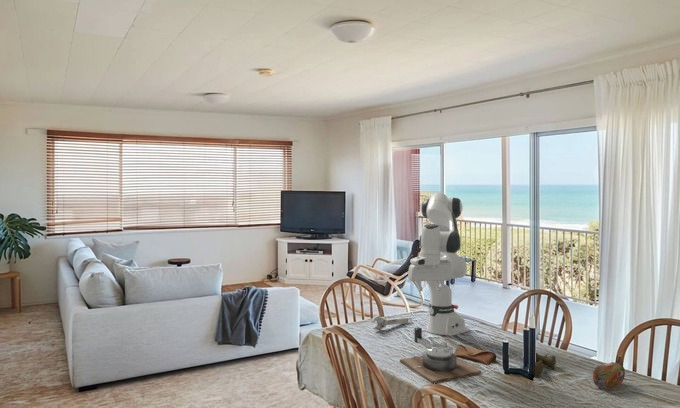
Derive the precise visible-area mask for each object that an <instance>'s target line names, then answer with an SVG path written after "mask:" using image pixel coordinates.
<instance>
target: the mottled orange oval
mask: <svg viewBox="0 0 680 408" xmlns="http://www.w3.org/2000/svg"><path fill="white" fill-rule="evenodd" d="M625 376H626V370H625V368H624V366H623V365H622V364H621V363H618V362H615V361H614V362H611V361H610V362H608V363H604V364H599V365H597V366H596V367H595V368H594V370H593V372H592V380H593V383H594V385H595V386H596V387H599V388H601V389H602V390H603V389H604V390H607V389H609V388H613V387H617V386H620V385H621V384H622V383H623V381H624V380H625Z"/></svg>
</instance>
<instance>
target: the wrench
mask: <svg viewBox="0 0 680 408" xmlns="http://www.w3.org/2000/svg"><path fill="white" fill-rule="evenodd" d="M370 321H371V322H372V323H375V322H376V325H373V326H372V329H373V330H376V331H379V332H381V331H382V330H383V329H384V328H385V327H386V326H391V325H402V324H404V325H405V324H410V323H409V322H411V323H412V317H409V316H405V317H398V318H397V317H396V318H389V319H388V318H387V319H385V318H382V317H381V316H380V315H374V316H373V317H372V318H371V320H370Z"/></svg>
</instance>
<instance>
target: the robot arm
mask: <svg viewBox="0 0 680 408" xmlns="http://www.w3.org/2000/svg"><path fill="white" fill-rule="evenodd" d="M463 207H464V206H463V202H462V201H461V199H460V198H459V197H448V196H447V195H446V194H445V193H443V192H441V191H439V192H434V193H433V194H432V195H431V196H430V198H427V199H424V200H423V201H422V202H421V205H420V211H421V214H422V216H423V217H424V218H426V219H428V220H429V221H430V224H429V223H427V224H424V225H423V226H422V229H421V234H420V236H419V247H420V248H421V250H420V255H418V256H415V257H412V258H411V259H409V261H410V265H409V266H408V271H407V272H408V273H407V279H408V281H410V282H415V285H416V287H417V291H418V292H423V287H422V286H421V285H420V284H421V282H425V283H426V284H427V285H428V289H429V305H428V311H429V313H428V314H429V316H428V324H427V327H426V331H427V332H429V333H431V334H434V335H440V336H441V335H442V336H451V337H452V336H456V335H459V334H462V333H463V334H464V333H467V332H470V327H468V326H467V325H466V322H465V319H464V317H462V316H461V315H460V314H459V313H458V312H456V310H458V309H459V305H458V304H453V303H452V301H453V299H452V298H453V297H452V296H453V291H452V289H451V287H450V286H448V285H447V284H445V282H447V281H451V280H452V279H453V280H455V279H460V278H464V277H465V275H466V274H467V271H468V265H467V263H466V261H465V260H464V259H463V258H462V257H460V256H459V255H458V253H457V252H459V251H460V249H461V247H462V239H461V236H460V232H459V229H458V228H459V227H458V223H457V219H458V218H459V217H460V216H461V215H462V212H463Z"/></svg>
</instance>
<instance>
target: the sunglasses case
mask: <svg viewBox="0 0 680 408" xmlns="http://www.w3.org/2000/svg"><path fill="white" fill-rule="evenodd" d="M453 354H455V355H456V357H457V358H458V359H464V360H468V361H472V362H475V363H479V364H483V365H487V366H490V365H491V364H493V363H494V362H496V361H497V355H496V353H495V352H492V351H485V350H483V349H482V350H481V349H478V348H476V347H470V346H465V345H464V344H463V345H462V344H458V345H457V347H456V349H455V351H454V352H453Z"/></svg>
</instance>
